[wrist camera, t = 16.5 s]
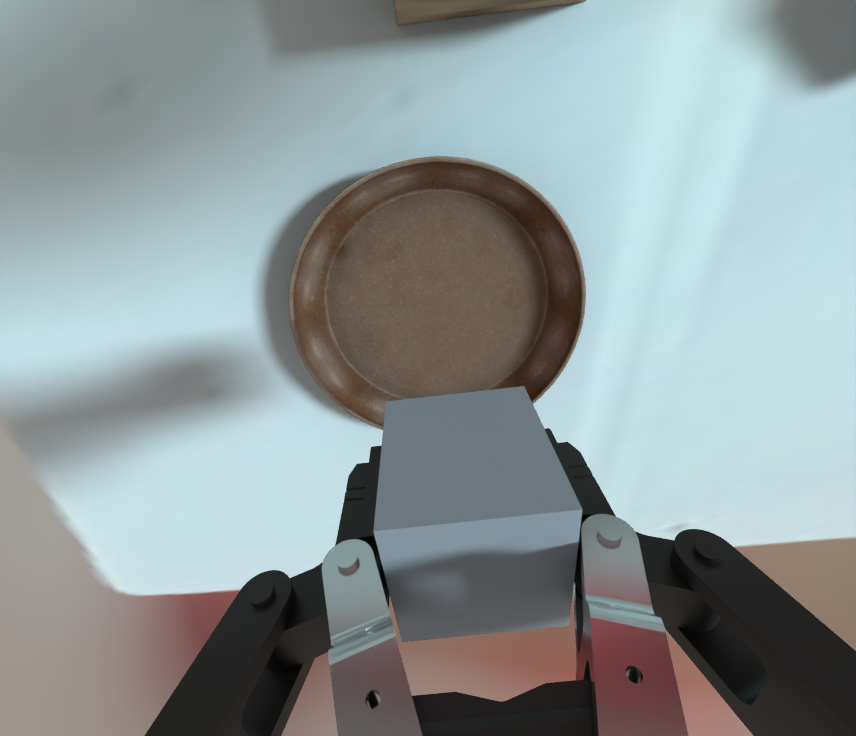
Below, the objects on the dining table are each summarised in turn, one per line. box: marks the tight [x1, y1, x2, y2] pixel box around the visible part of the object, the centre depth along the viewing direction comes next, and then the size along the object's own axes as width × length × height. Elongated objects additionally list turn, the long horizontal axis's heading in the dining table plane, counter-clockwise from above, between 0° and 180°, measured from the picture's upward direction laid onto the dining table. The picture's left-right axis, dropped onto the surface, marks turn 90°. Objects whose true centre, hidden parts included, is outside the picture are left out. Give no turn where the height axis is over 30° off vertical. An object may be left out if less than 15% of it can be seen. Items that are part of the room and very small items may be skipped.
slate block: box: [373, 386, 582, 642], centre depth 12 cm, size 4×4×5 cm
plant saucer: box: [289, 156, 586, 430], centre depth 25 cm, size 18×18×3 cm
